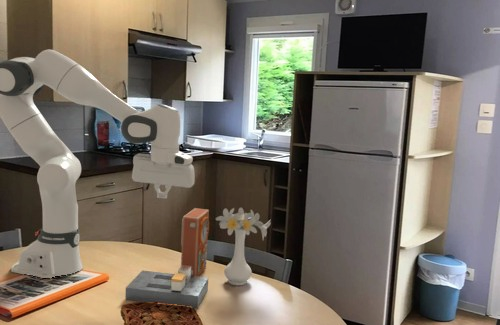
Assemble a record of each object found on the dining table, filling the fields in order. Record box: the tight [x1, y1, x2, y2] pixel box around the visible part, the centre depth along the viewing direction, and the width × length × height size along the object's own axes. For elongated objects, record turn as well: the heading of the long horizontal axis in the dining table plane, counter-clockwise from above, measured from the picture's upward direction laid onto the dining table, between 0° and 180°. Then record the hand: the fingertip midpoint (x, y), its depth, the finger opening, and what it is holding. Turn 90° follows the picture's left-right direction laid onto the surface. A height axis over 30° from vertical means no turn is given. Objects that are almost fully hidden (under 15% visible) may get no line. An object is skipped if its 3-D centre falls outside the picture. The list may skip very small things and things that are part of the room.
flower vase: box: [215, 207, 272, 286], centre depth 156 cm, size 13×18×25 cm
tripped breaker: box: [171, 272, 186, 291], centre depth 140 cm, size 3×4×4 cm
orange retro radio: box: [180, 207, 210, 277], centre depth 163 cm, size 21×7×15 cm
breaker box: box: [125, 265, 209, 310], centre depth 144 cm, size 22×14×8 cm, turn 83°
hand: (162, 197), depth 152 cm, fingers closed
